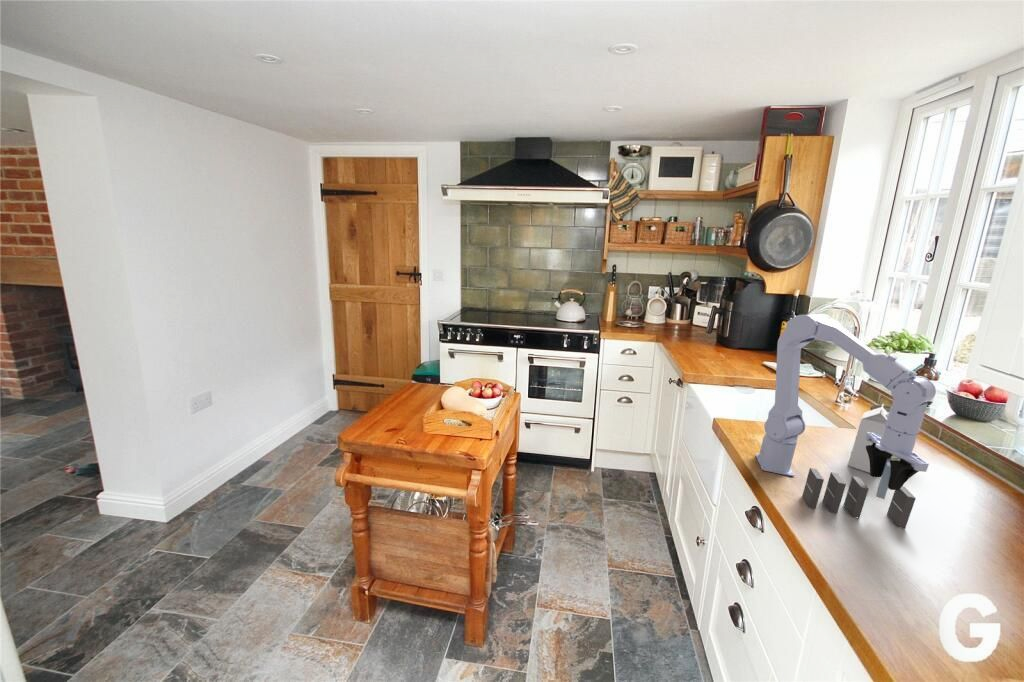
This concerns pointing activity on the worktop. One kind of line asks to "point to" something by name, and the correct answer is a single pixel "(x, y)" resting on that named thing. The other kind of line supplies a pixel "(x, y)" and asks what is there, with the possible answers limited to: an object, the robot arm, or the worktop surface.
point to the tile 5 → (901, 507)
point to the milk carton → (869, 423)
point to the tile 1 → (812, 488)
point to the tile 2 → (834, 492)
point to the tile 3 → (856, 496)
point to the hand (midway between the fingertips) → (884, 482)
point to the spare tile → (884, 480)
